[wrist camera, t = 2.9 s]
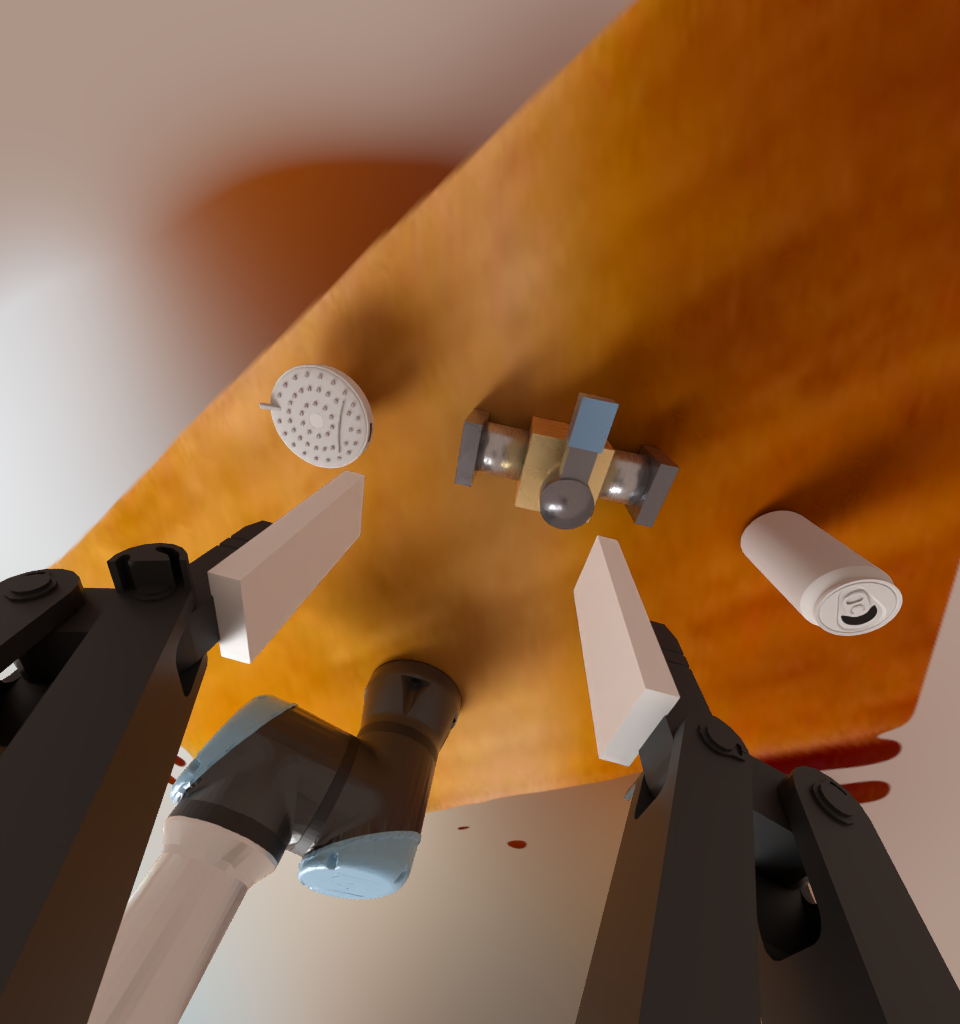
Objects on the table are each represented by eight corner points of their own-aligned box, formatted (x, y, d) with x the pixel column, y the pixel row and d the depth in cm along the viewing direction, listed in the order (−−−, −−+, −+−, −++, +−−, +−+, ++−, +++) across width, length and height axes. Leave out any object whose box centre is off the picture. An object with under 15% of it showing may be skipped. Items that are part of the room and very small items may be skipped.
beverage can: (749, 567, 41) (824, 650, 30) (727, 525, 39) (800, 597, 28) (812, 542, 39) (918, 622, 28) (793, 496, 37) (898, 563, 26)
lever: (581, 520, 30) (584, 534, 28) (534, 509, 30) (534, 522, 28) (623, 401, 26) (631, 407, 24) (568, 389, 26) (571, 394, 24)
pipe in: (531, 420, 37) (531, 435, 32) (518, 474, 40) (515, 496, 34) (474, 408, 37) (464, 421, 32) (465, 463, 40) (454, 483, 35)
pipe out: (658, 448, 36) (679, 467, 31) (635, 500, 39) (651, 527, 34) (599, 435, 37) (610, 453, 31) (581, 488, 39) (588, 513, 34)
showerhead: (254, 349, 30) (369, 383, 30) (303, 346, 37) (398, 374, 37) (258, 453, 35) (358, 483, 35) (301, 434, 41) (385, 460, 41)
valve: (601, 430, 36) (621, 461, 28) (579, 492, 40) (592, 537, 31) (532, 416, 37) (532, 441, 28) (517, 478, 40) (512, 519, 31)
